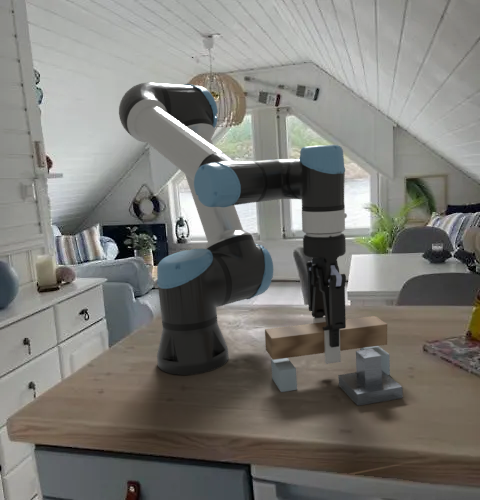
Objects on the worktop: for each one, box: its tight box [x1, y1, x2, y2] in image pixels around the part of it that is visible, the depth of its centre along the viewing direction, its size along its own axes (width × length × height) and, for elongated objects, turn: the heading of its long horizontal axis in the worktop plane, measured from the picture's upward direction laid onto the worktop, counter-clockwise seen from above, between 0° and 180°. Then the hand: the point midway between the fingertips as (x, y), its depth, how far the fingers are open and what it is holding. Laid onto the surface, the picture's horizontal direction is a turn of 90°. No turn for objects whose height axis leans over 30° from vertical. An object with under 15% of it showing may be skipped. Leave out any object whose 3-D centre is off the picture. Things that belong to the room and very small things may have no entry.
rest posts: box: [270, 346, 391, 393], centre depth 92 cm, size 21×6×4 cm, turn 101°
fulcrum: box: [338, 349, 404, 407], centre depth 84 cm, size 8×8×7 cm
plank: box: [264, 315, 388, 360], centre depth 91 cm, size 22×5×4 cm, turn 101°
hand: (326, 355), depth 92 cm, fingers closed on plank, 5 cm apart
